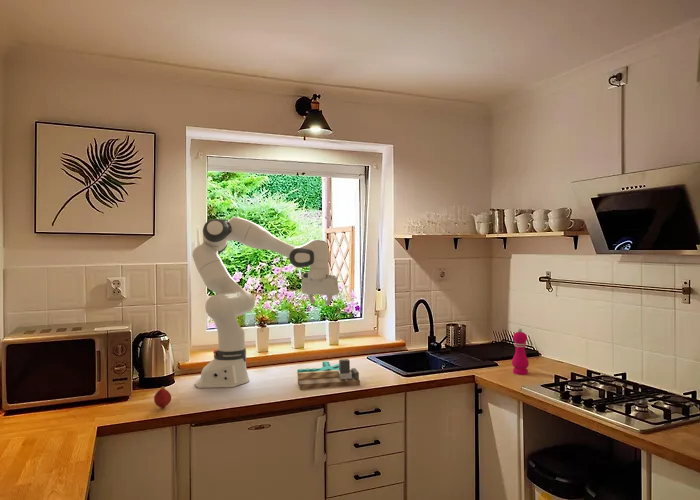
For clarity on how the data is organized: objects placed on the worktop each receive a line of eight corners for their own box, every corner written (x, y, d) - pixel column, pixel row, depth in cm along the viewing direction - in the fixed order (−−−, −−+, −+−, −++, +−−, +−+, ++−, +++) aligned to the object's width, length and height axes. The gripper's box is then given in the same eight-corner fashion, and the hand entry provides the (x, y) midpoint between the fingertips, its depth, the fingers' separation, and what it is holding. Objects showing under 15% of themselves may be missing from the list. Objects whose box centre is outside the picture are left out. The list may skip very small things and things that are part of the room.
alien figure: (297, 374, 237) (331, 381, 225) (297, 369, 237) (331, 376, 225) (325, 365, 253) (358, 371, 241) (325, 361, 253) (358, 366, 241)
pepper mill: (511, 374, 230) (510, 329, 229) (512, 370, 236) (512, 326, 236) (528, 375, 227) (528, 330, 227) (529, 371, 234) (529, 327, 233)
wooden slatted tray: (300, 389, 212) (299, 377, 212) (297, 382, 222) (297, 371, 222) (360, 385, 217) (359, 373, 216) (355, 378, 226) (354, 367, 226)
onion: (161, 412, 186) (160, 389, 186) (151, 409, 189) (150, 387, 189) (174, 407, 191) (174, 385, 191) (164, 405, 194) (163, 383, 194)
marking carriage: (340, 379, 217) (339, 362, 217) (337, 376, 223) (337, 358, 223) (353, 378, 218) (352, 361, 218) (350, 375, 224) (350, 358, 224)
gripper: (341, 274, 236) (341, 305, 236) (308, 273, 249) (308, 302, 249) (332, 275, 231) (332, 306, 231) (299, 274, 244) (299, 303, 244)
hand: (320, 304), depth 240 cm, fingers open, 8 cm apart
